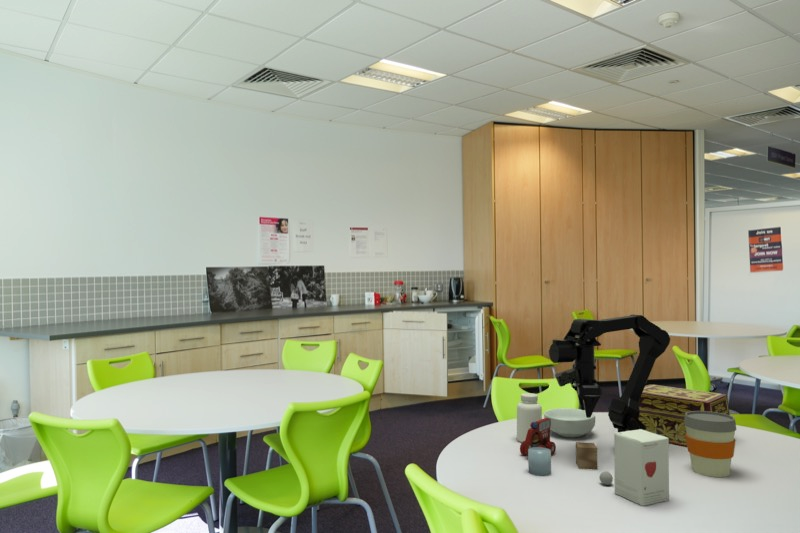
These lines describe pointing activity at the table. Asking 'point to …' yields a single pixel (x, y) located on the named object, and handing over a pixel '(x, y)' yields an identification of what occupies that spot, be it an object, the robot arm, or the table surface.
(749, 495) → the table surface
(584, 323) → the robot arm
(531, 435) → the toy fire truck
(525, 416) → the pill bottle
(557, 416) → the cereal bowl
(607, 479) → the grey ball
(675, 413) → the decorative box
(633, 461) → the supplement box
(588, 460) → the walnut block
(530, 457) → the blue domed cylinder
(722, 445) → the reusable coffee cup
